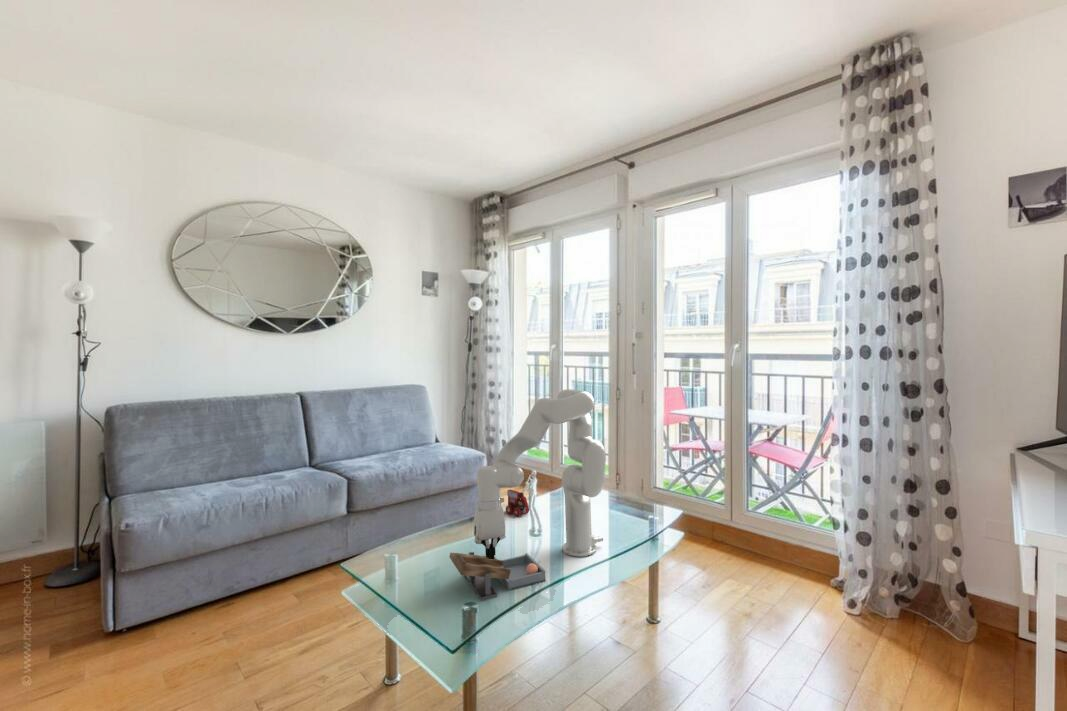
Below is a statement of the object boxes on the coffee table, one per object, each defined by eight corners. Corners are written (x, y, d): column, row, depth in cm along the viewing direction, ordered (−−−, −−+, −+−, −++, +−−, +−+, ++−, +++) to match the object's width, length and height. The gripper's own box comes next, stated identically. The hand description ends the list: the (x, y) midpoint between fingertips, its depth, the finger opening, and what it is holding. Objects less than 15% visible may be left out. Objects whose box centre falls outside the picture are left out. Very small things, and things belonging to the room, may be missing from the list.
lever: (493, 561, 162) (495, 550, 162) (509, 579, 148) (511, 568, 149) (448, 556, 155) (451, 545, 156) (461, 575, 142) (464, 563, 142)
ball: (537, 566, 159) (529, 558, 158) (542, 571, 155) (534, 563, 154) (529, 575, 158) (521, 568, 157) (534, 581, 154) (526, 573, 153)
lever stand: (478, 571, 161) (477, 550, 161) (496, 597, 144) (495, 572, 144) (464, 575, 159) (463, 553, 159) (481, 601, 142) (480, 576, 142)
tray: (527, 562, 167) (526, 553, 167) (545, 581, 153) (545, 570, 153) (492, 570, 162) (492, 560, 162) (508, 590, 148) (508, 579, 148)
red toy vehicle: (522, 518, 211) (521, 495, 211) (503, 513, 220) (502, 490, 220) (532, 514, 216) (532, 492, 216) (513, 509, 225) (513, 487, 225)
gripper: (505, 497, 165) (507, 549, 165) (464, 504, 159) (465, 558, 159) (514, 503, 158) (515, 558, 158) (471, 510, 152) (472, 567, 152)
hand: (490, 558), depth 159 cm, fingers closed
